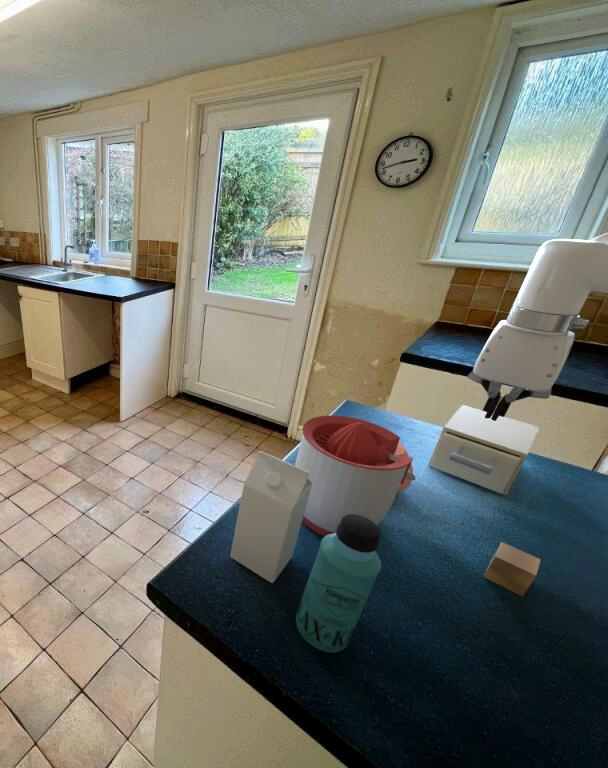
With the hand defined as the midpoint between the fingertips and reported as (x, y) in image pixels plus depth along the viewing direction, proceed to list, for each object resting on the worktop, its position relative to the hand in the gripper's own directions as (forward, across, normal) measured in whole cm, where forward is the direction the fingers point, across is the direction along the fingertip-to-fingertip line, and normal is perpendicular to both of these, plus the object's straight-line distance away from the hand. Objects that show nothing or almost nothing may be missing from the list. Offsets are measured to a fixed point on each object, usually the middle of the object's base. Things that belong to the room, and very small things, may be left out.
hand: (491, 416), depth 75 cm
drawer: (+15, 0, -6) cm, 16 cm away
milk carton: (+16, +16, +46) cm, 51 cm away
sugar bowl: (+16, +13, +11) cm, 23 cm away
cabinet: (+16, 0, -11) cm, 19 cm away
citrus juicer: (+16, +12, +28) cm, 35 cm away
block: (+16, -10, +21) cm, 28 cm away
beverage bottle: (+16, +4, +52) cm, 55 cm away
